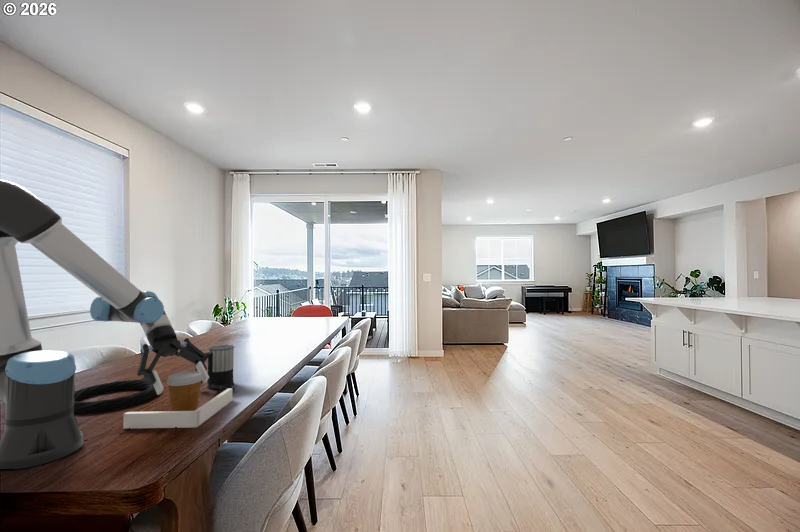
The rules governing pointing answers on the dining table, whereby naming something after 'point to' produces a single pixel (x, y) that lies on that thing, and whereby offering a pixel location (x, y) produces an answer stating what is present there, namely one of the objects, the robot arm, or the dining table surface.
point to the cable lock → (116, 402)
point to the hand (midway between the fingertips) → (184, 385)
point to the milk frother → (220, 367)
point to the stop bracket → (177, 415)
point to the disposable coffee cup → (184, 390)
